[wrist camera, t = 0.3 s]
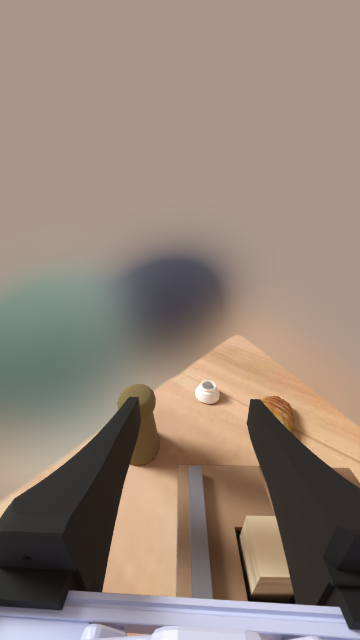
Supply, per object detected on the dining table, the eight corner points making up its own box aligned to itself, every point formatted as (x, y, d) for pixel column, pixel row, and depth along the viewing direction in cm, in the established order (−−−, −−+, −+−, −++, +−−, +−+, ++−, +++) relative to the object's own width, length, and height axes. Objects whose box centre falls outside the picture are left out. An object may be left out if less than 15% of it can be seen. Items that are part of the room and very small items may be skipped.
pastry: (262, 396, 42) (266, 382, 40) (298, 414, 38) (303, 399, 36) (244, 426, 35) (248, 410, 34) (285, 451, 31) (291, 435, 30)
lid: (569, 792, 11) (606, 794, 10) (174, 786, 11) (174, 788, 10) (346, 471, 26) (353, 460, 25) (178, 468, 25) (178, 456, 24)
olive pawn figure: (121, 431, 33) (114, 380, 29) (157, 425, 35) (156, 375, 30) (119, 469, 28) (110, 414, 24) (162, 461, 29) (161, 406, 25)
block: (284, 607, 18) (306, 577, 15) (245, 606, 18) (260, 576, 15) (268, 550, 21) (284, 516, 18) (235, 549, 21) (246, 515, 18)
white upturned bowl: (212, 409, 38) (223, 394, 42) (213, 398, 37) (224, 383, 41) (190, 397, 41) (202, 384, 45) (191, 386, 40) (203, 373, 43)
